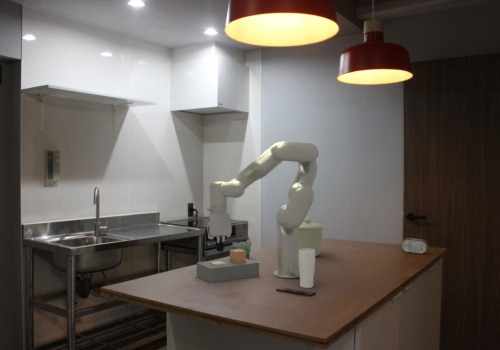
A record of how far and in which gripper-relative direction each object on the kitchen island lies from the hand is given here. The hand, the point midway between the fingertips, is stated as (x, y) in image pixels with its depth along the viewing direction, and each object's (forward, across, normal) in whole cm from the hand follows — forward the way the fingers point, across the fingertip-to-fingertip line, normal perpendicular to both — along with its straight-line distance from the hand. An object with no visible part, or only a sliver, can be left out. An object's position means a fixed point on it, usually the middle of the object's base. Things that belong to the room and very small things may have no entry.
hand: (219, 251), depth 196 cm
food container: (+12, +28, +26) cm, 40 cm away
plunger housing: (+12, +4, 0) cm, 12 cm away
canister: (+14, +65, +20) cm, 69 cm away
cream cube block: (+11, -1, 0) cm, 11 cm away
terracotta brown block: (+6, +9, 0) cm, 11 cm away
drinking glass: (+13, +23, -32) cm, 41 cm away
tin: (+16, +124, -4) cm, 125 cm away
